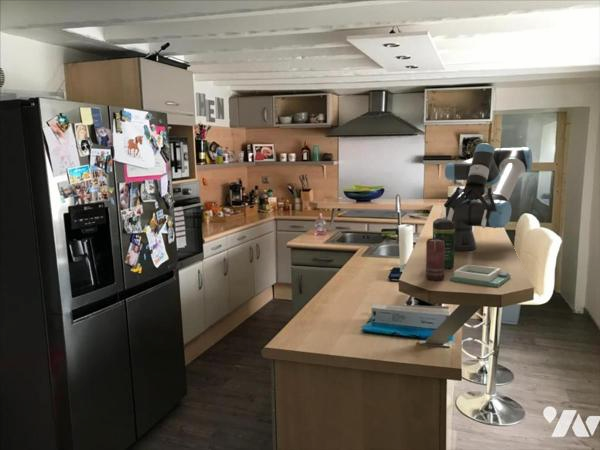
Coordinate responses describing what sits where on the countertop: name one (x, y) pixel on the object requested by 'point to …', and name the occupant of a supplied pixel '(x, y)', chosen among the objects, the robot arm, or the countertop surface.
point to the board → (480, 275)
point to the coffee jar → (445, 238)
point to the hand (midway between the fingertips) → (465, 225)
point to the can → (435, 259)
